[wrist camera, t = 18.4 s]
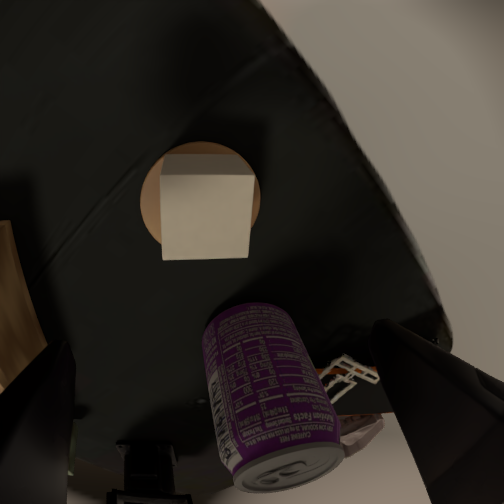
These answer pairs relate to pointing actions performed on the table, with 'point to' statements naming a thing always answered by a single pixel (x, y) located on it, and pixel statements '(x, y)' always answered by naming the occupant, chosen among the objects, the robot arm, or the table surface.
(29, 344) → the cabinet
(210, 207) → the block
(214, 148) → the coaster
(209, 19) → the table surface
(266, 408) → the beverage can
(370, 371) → the model
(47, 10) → the table surface
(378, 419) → the dental mold
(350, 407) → the smartphone
